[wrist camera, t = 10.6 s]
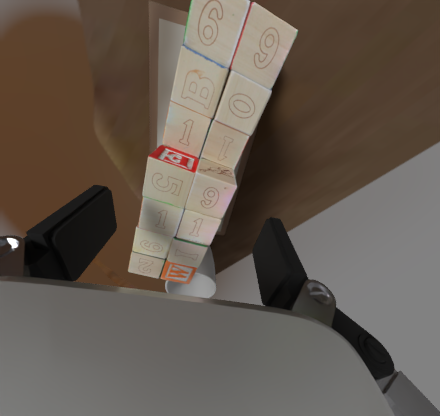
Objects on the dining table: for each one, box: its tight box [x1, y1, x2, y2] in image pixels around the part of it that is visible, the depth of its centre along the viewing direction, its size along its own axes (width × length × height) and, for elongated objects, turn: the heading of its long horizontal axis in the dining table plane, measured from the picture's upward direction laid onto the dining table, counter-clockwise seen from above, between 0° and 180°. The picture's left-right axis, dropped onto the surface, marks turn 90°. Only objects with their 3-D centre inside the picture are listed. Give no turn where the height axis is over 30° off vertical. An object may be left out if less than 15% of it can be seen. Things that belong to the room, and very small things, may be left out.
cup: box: [165, 245, 216, 298], centre depth 31 cm, size 8×8×10 cm
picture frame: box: [149, 0, 261, 235], centre depth 24 cm, size 13×26×3 cm, turn 168°
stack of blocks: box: [128, 0, 298, 284], centre depth 17 cm, size 21×6×12 cm, turn 158°
